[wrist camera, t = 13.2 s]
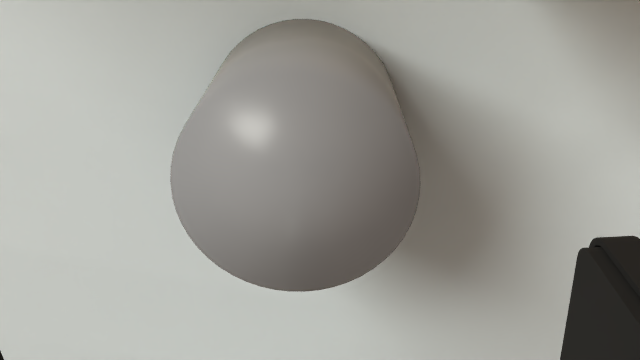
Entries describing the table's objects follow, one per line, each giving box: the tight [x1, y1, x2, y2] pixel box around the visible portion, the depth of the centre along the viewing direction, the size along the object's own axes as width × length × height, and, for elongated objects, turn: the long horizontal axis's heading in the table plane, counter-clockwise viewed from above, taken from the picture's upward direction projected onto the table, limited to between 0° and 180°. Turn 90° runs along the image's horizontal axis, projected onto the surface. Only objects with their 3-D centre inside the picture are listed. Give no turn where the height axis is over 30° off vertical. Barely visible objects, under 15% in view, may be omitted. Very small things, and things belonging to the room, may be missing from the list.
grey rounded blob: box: [170, 19, 420, 291], centre depth 18 cm, size 6×6×6 cm
